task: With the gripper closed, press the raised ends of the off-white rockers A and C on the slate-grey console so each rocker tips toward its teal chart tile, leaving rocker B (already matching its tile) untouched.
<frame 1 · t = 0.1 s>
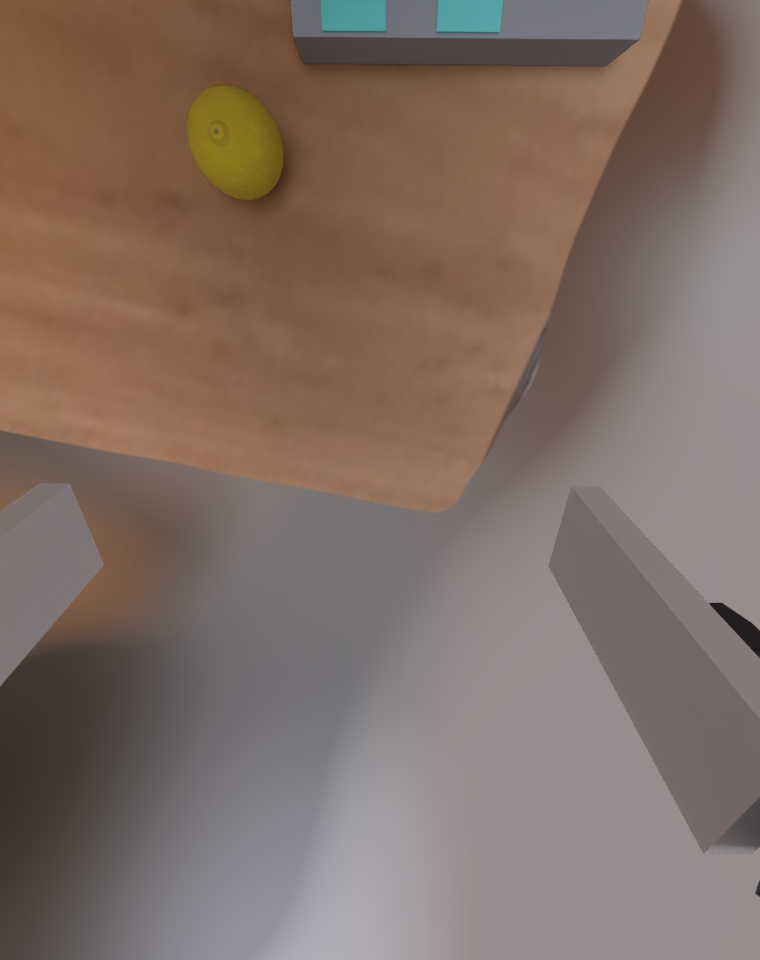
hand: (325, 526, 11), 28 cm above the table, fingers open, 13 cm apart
lemon: (255, 159, 30), on the table
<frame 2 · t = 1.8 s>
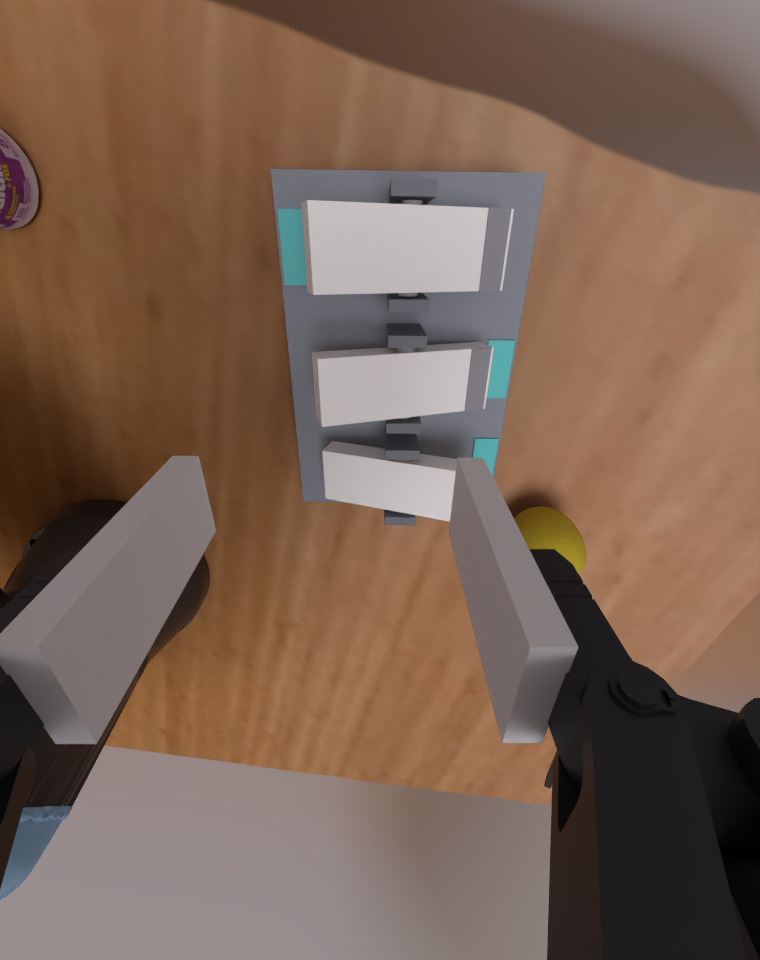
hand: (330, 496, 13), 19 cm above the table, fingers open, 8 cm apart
console: (398, 353, 29), on the table
lemon: (527, 514, 36), on the table
rocker B: (404, 382, 23), point 7 cm above the table, hinge at 18.0°
rocker A: (400, 482, 26), point 7 cm above the table, hinge at -18.0°
rocker C: (410, 250, 20), point 7 cm above the table, hinge at 18.0°
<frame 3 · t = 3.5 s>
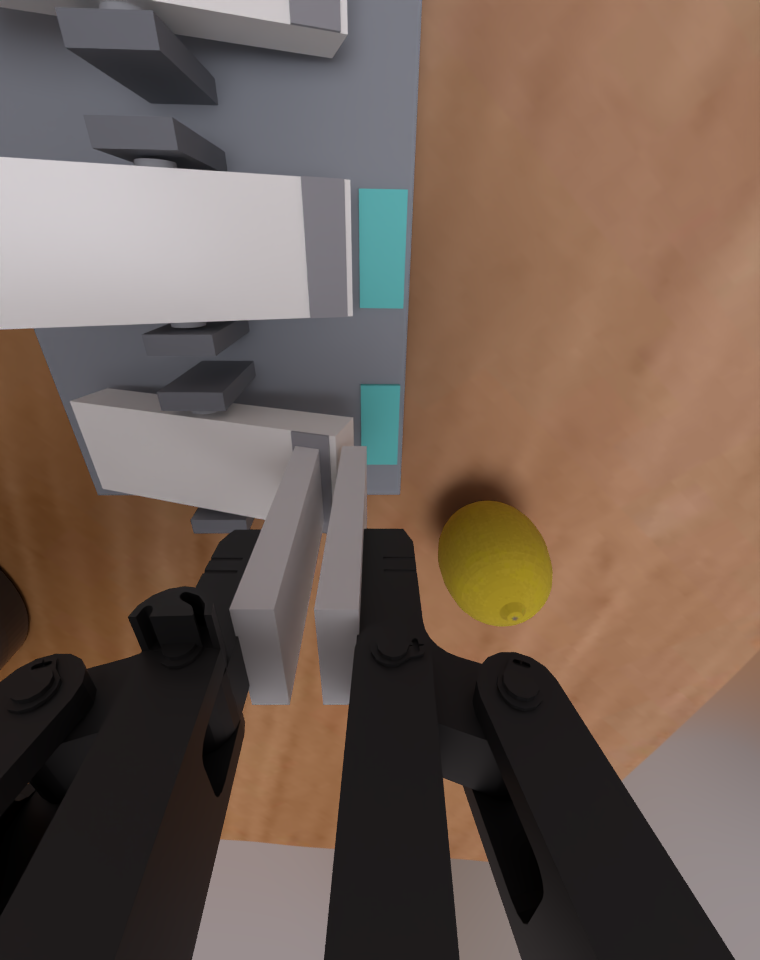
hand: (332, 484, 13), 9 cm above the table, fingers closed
console: (240, 248, 18), on the table
lemon: (473, 513, 25), on the table
rocker B: (173, 250, 12), point 7 cm above the table, hinge at 18.0°
rocker A: (215, 457, 15), point 7 cm above the table, hinge at -17.5°, touching gripper
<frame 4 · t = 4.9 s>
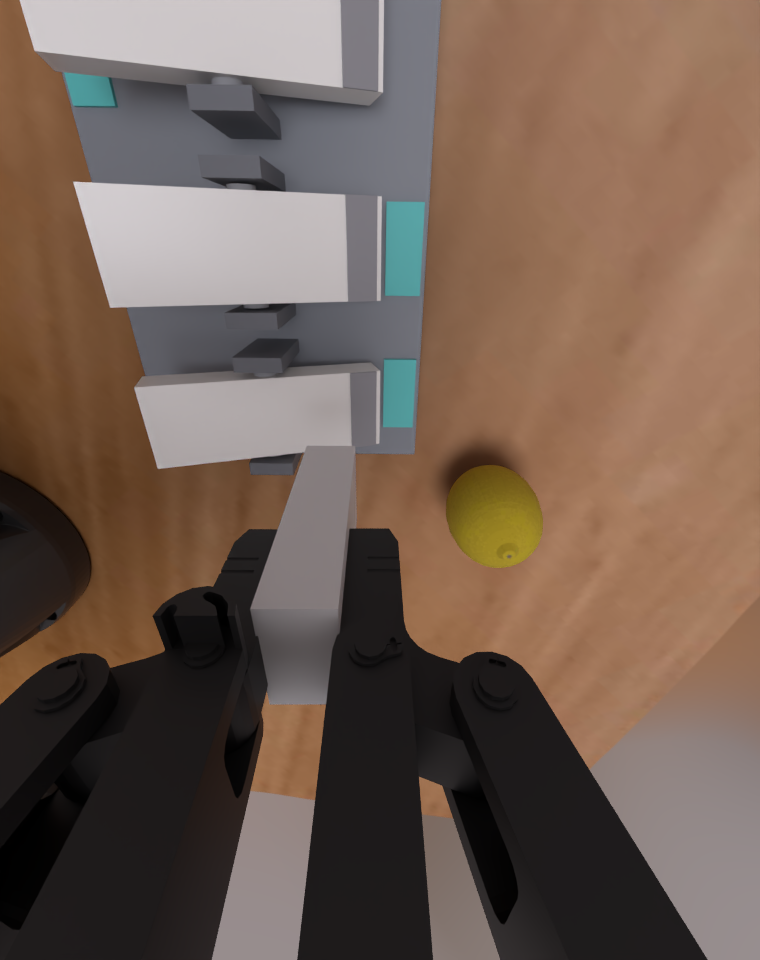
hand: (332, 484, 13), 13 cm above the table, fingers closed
console: (286, 248, 22), on the table
lemon: (478, 479, 29), on the table
rocker B: (249, 250, 15), point 7 cm above the table, hinge at 18.0°
rocker A: (270, 413, 19), point 7 cm above the table, hinge at 16.7°
rocker C: (217, 0, 12), point 7 cm above the table, hinge at 18.0°
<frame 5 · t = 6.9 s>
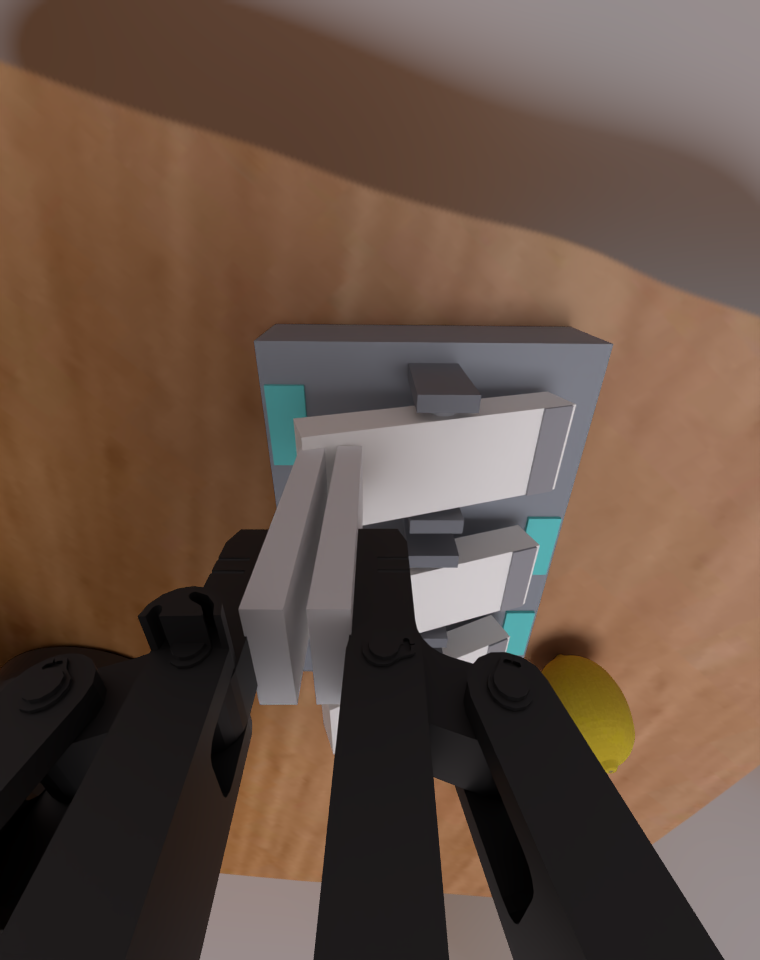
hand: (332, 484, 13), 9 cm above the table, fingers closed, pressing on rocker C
console: (413, 502, 24), on the table
lemon: (558, 653, 32), on the table
rocker B: (426, 589, 18), point 7 cm above the table, hinge at 18.0°
rocker A: (418, 680, 21), point 7 cm above the table, hinge at 23.2°
rocker C: (438, 458, 15), point 7 cm above the table, hinge at 18.0°, touching gripper
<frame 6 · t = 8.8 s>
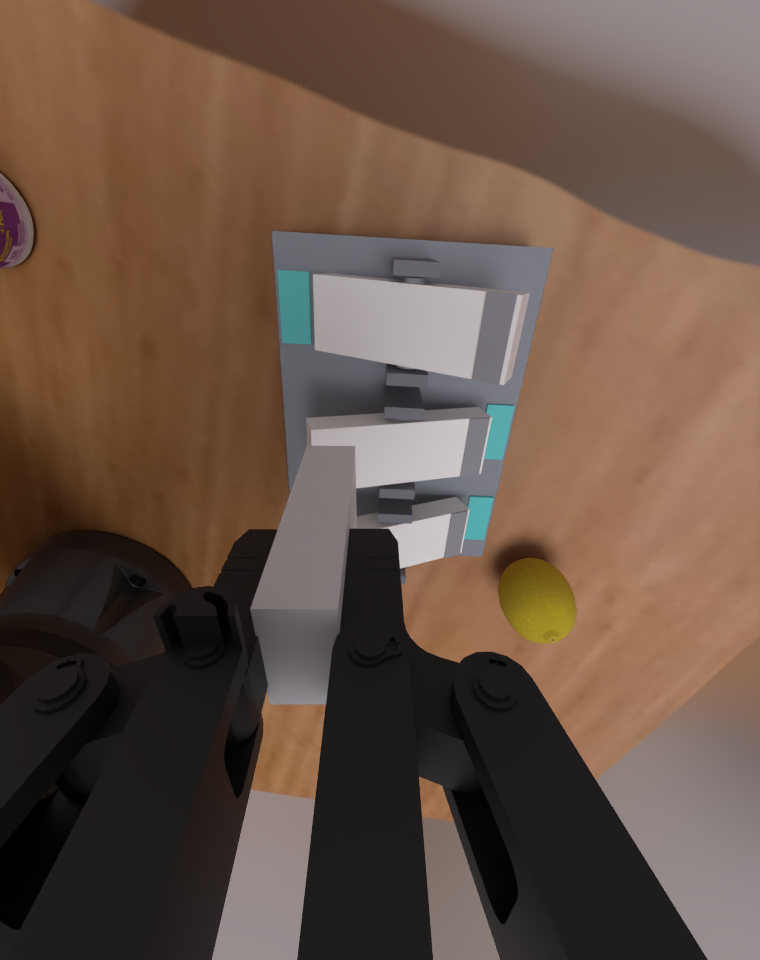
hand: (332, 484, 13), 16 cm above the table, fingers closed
console: (396, 404, 29), on the table
lemon: (520, 562, 36), on the table
rocker B: (400, 448, 23), point 7 cm above the table, hinge at 18.0°
rocker A: (392, 540, 26), point 7 cm above the table, hinge at 23.6°
rocker C: (409, 324, 19), point 7 cm above the table, hinge at -27.2°
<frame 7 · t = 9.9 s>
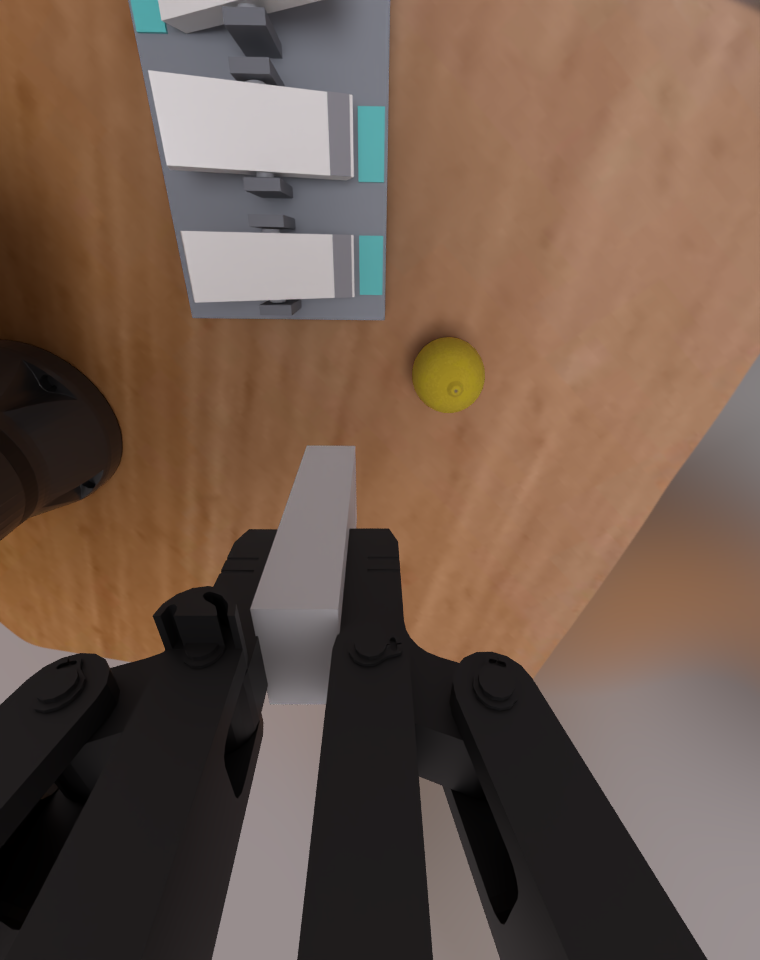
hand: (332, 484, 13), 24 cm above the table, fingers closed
console: (285, 156, 28), on the table
lemon: (440, 361, 36), on the table
rocker B: (260, 132, 22), point 7 cm above the table, hinge at 18.0°
rocker A: (274, 266, 25), point 7 cm above the table, hinge at 23.6°
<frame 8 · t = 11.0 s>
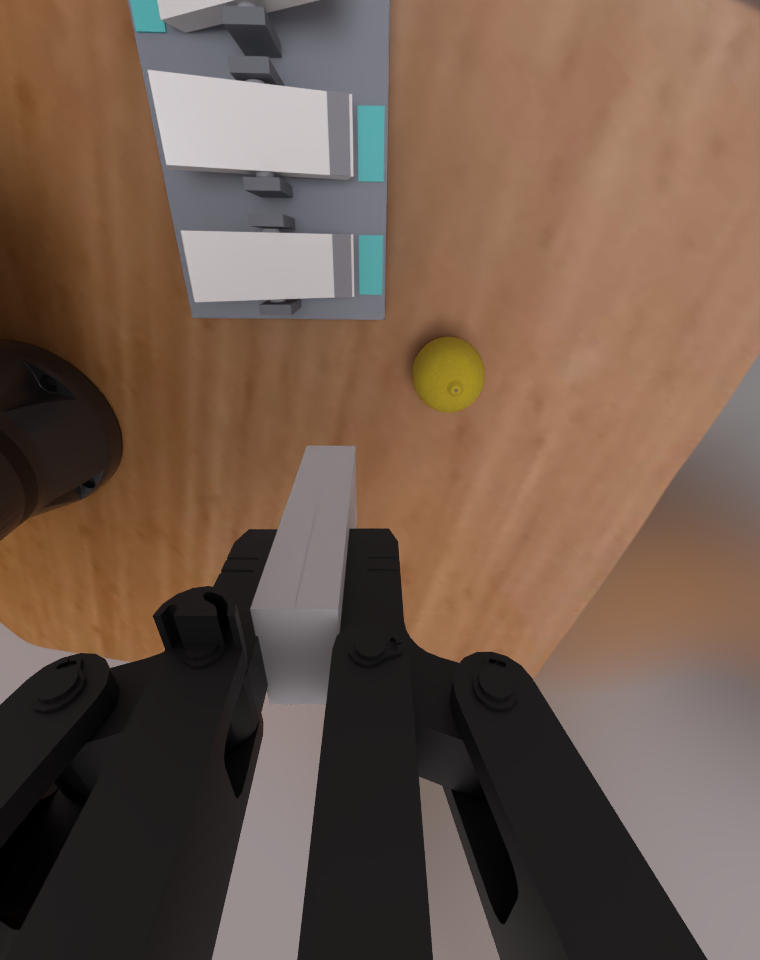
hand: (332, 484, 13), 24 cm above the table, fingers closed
console: (285, 156, 28), on the table
lemon: (440, 361, 36), on the table
rocker B: (260, 131, 22), point 7 cm above the table, hinge at 18.0°
rocker A: (274, 266, 25), point 7 cm above the table, hinge at 23.6°
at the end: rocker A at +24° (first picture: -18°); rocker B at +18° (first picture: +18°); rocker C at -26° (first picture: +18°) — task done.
